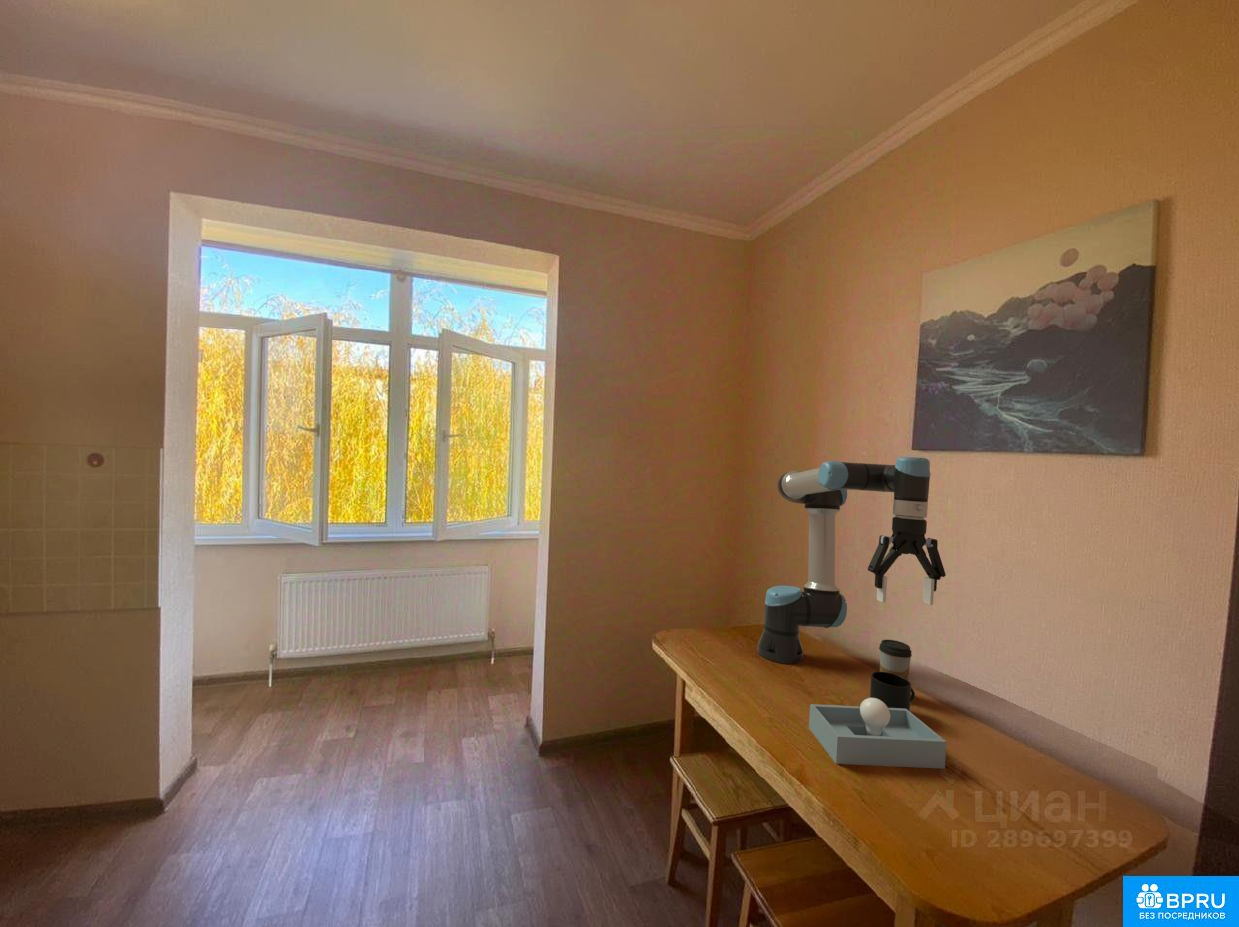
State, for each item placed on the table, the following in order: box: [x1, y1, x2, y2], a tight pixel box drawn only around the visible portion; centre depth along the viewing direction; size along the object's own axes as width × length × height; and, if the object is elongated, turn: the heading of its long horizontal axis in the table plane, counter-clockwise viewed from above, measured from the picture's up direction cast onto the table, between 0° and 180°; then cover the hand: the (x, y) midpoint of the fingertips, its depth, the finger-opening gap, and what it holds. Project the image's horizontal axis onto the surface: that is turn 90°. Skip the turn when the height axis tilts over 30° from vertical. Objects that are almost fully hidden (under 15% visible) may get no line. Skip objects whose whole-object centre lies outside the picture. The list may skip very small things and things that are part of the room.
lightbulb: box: [860, 697, 890, 736], centre depth 111 cm, size 6×6×11 cm
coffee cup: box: [878, 639, 912, 681], centre depth 138 cm, size 8×8×15 cm
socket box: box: [808, 703, 947, 770], centre depth 111 cm, size 14×24×6 cm, turn 91°
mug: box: [869, 671, 916, 712], centre depth 128 cm, size 9×12×9 cm
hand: (904, 602), depth 120 cm, fingers open, 11 cm apart
